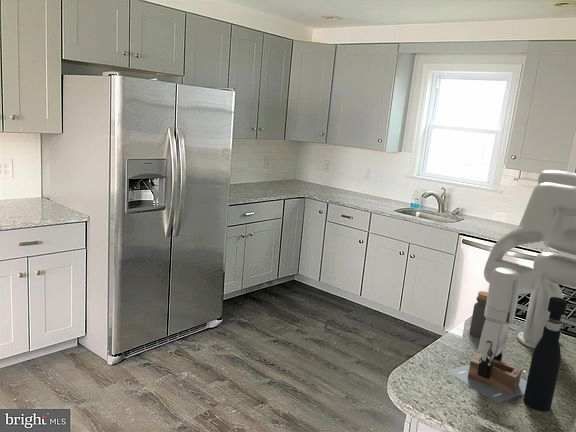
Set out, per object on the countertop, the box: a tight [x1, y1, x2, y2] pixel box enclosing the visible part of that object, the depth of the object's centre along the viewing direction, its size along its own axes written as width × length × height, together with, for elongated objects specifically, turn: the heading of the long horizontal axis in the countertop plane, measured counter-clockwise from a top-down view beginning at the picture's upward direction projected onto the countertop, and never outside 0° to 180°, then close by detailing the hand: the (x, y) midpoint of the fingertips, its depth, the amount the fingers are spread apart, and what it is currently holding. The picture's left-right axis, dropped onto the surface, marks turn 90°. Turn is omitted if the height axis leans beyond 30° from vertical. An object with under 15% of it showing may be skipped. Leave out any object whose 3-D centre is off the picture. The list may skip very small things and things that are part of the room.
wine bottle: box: [523, 297, 568, 412], centre depth 126 cm, size 6×6×30 cm
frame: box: [468, 352, 523, 395], centre depth 137 cm, size 6×12×5 cm, turn 51°
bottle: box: [469, 290, 488, 339], centre depth 169 cm, size 6×6×15 cm
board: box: [446, 364, 527, 404], centre depth 139 cm, size 18×17×4 cm
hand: (488, 370), depth 138 cm, fingers open, 9 cm apart
